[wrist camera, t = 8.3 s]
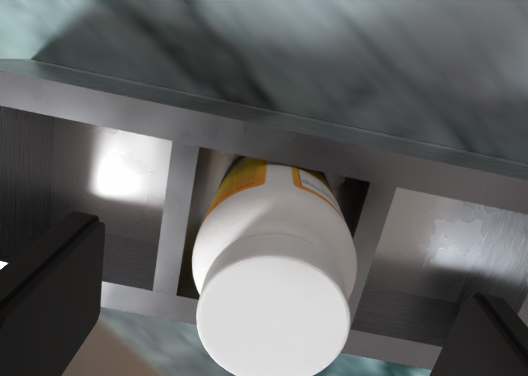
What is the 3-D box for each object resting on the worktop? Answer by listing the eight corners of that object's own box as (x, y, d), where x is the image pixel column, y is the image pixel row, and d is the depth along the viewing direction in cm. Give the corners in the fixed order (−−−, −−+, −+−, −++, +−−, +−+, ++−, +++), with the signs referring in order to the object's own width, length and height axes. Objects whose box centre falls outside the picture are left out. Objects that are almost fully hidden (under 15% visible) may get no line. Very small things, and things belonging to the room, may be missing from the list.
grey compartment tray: (30, 58, 18) (-56, 58, 14) (537, 165, 19) (622, 200, 14) (27, 229, 21) (-45, 278, 16) (470, 316, 22) (523, 387, 17)
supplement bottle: (218, 243, 20) (167, 399, 11) (221, 139, 18) (165, 219, 9) (323, 251, 20) (363, 415, 11) (336, 147, 18) (397, 236, 9)
